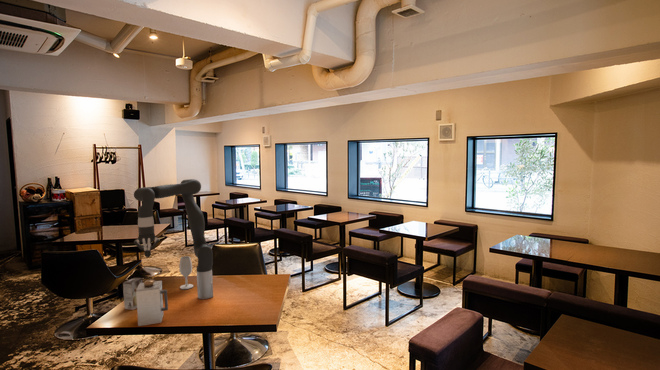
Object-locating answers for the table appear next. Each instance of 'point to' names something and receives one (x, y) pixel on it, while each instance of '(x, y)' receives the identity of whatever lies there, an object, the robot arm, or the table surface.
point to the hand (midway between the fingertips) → (147, 257)
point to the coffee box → (131, 292)
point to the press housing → (150, 303)
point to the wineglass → (185, 270)
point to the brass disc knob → (149, 282)
